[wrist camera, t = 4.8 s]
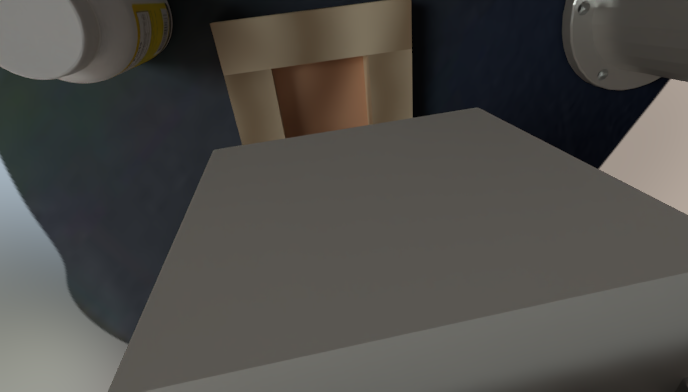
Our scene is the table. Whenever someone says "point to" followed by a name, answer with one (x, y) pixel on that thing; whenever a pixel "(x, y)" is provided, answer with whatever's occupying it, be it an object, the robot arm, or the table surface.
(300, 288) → the light gray cube
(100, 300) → the table surface
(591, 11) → the robot arm
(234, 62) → the socket board
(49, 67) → the supplement bottle
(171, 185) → the table surface
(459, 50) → the table surface
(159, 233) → the table surface
